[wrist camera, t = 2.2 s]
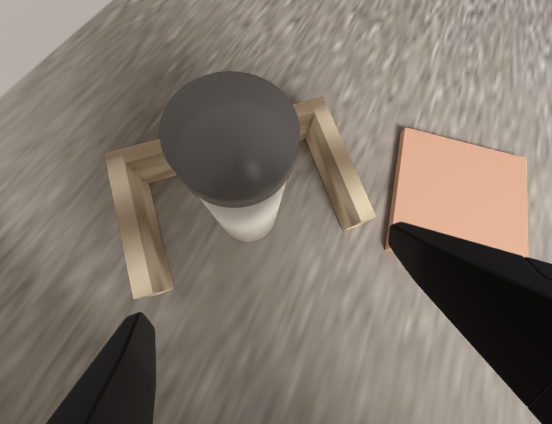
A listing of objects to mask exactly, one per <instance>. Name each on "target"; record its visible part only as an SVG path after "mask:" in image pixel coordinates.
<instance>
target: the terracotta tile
mask: <svg viewBox="0 0 552 424" xmlns="http://www.w3.org/2000/svg"><path fill="white" fill-rule="evenodd" d="M397 222H405V223H409V224H412V225H416V226H419V227H423V228H426V229H430V230H433V231H437V232H440V233H444V234H448V235H451V236H455V237H458V238H462V239H465V240H469V241H472V242H476V243H479V244H483V245H486V246H490V247H493V248H497V249H501V250H504V251H508V252H511V253H515V254H518V255H522V256H523V257H528V205H527V158H524V157H520V156H516V155H512V154H508V153H504V152H500V151H496V150H492V149H488V148H484V147H481V146H477V145H473V144H469V143H465V142H461V141H457V140H453V139H449V138H445V137H441V136H437V135H434V134H430V133H426V132H422V131H418V130H414V129H410V128H406V127H405V128H404V129H403V130H402V131H401V133H400V141H399V148H398V156H397V164H396V171H395V179H394V186H393V194H392V201H391V209H390V217H389V224H388V232H387V239H386V247H385V250H387V251H391V252H393V251H392V250H391V248H390V246H389V244H388V237H389V227H390V225H391V224H394V223H397Z"/></svg>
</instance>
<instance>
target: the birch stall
mask: <svg viewBox="0 0 552 424" xmlns="http://www.w3.org/2000/svg"><path fill="white" fill-rule="evenodd" d="M292 105H293V106H294V109H295V111H296V113H297V116H298V119H299V124H300V140H304V139H306V141H307V144H308V146H309V149H310V151H311V153H312V156H313V158H314V161H315V163H316V166H317V168H318V171H319V173H320V176H321V178H322V180H323V183H324V185H325V188H326V190H327V193H328V195H329V198H330V200H331V203H332V205H333V207H334V210H335V212H336V215H337V217H338V220H339V222H340V225H341V227H342V230H343V231H345V230H348V229H351V228H354V227H357V226H359V225H361V224H363V223H365V222H367V221H369V220H371V219H373V218H375V217H376V215H375V213H374V211H373V208H372V206H371V204H370V202H369V199H368V197H367V195H366V193H365V190H364V188H363V186H362V184H361V181H360V179H359V177H358V175H357V172H356V170H355V168H354V166H353V163H352V161H351V159H350V157H349V154H348V152H347V150H346V148H345V145H344V143H343V141H342V139H341V136H340V134H339V132H338V130H337V127H336V125H335V123H334V121H333V118H332V116H331V114H330V112H329V109H328V107H327V105H326V103H325V100H324V98H323V97H319V98H315V99H311V100H308V101H304V102H300V103H296V104H292ZM104 155H105V160H106V165H107V170H108V175H109V180H110V185H111V190H112V195H113V200H114V205H115V210H116V215H117V220H118V225H119V230H120V235H121V240H122V245H123V250H124V255H125V260H126V265H127V270H128V275H129V280H130V285H131V290H132V295H133V299H138V298H143V297H148V296H153V295H158V294H162V293H164V292H167V291H170V290H173V289H174V287H173V283H172V278H171V274H170V270H169V266H168V262H167V257H166V253H165V249H164V245H163V241H162V236H161V232H160V228H159V224H158V220H157V215H156V211H155V207H154V203H153V199H152V194H151V190H150V186H149V183H151V182H154V181H158V180H161V179H165V178H168V177H172V176H176V175H177V174H176V173H175V172H174V171H173V170H172V168H171V167H170V165H169V164H168V163H167V161H166V159H165V157H164V154H163V151H162V148H161V144H160V139H156V140H152V141H148V142H145V143H141V144H137V145H133V146H129V147H125V148H121V149H117V150H113V151H110V152H106V153H104Z"/></svg>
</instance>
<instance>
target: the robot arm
mask: <svg viewBox="0 0 552 424" xmlns="http://www.w3.org/2000/svg"><path fill="white" fill-rule="evenodd" d="M388 244H389V246H390V248H391V250H392V251H393V252H394V254H395V255H396V256H397V258H398V259H399V261H400V262H401V263H402V265H403V266H404V267H405V269H406V270H407V272H408V273H409V274H410V276H411V277H412V278H413V280H414V281H415V282H416V283H417V284H418V285H419V287H420V288H421V289H422V290H423V291H424V292H425V293H426V294H427V296H428V297H429V298H430V299H431V300H432V301H433V302H434V303H435V305H436V306H437V307H438V308H439V309H440V310H441V311H442V312H443V313H444V315H445V316H446V317H447V318H448V319H449V320H450V321H451V322H452V324H453V325H454V326H455V327H456V328H457V329H458V330H459V331H460V333H461V334H462V335H463V336H464V337H465V338H466V339H467V340H468V341H469V343H470V344H471V345H472V346H473V347H474V348H475V349H476V350H477V352H478V353H479V354H480V355H481V356H482V357H483V358H484V359H485V360H486V362H487V363H488V364H489V365H490V366H491V367H492V368H493V369H494V371H495V372H496V373H497V374H498V375H499V376H500V377H501V378H502V380H503V381H504V382H505V383H506V384H507V385H508V386H509V387H510V388H511V390H512V391H513V392H514V393H515V394H516V395H517V396H518V397H519V399H520V400H521V401H522V402H523V403H524V404H525V405H526V406H528V409H529V410H530V411H531V412H532V413H533V415H534V416H535V417H536V418H537V419H538V420H539V421H540V422H541V423H542V424H552V264H550V263H547V262H543V261H539V260H536V259H532V258H529V257H523V256H522V255H518V254H515V253H511V252H508V251H504V250H501V249H497V248H493V247H490V246H486V245H483V244H479V243H476V242H472V241H469V240H465V239H462V238H458V237H455V236H451V235H448V234H444V233H440V232H437V231H433V230H430V229H426V228H423V227H419V226H416V225H412V224H409V223H405V222H397V223H394V224H391V225H390V227H389V237H388ZM155 390H156V348H155V329H154V327H153V325H152V324H151V323H150V321H149V320H148V319H147V317H146V316H145V315H144V314H143V313H141V312H138V313H135V314H133V315H130V316H128V317H126V319H125V320H124V321H123V322H122V324H121V325H120V326H119V328H118V329H117V330H116V332H115V333H114V334H113V336H112V337H111V338H110V340H109V341H108V342H107V344H106V345H105V346H104V347H103V349H102V350H101V351H100V353H99V354H98V355H97V357H96V358H95V359H94V361H93V362H92V363H91V365H90V366H89V367H88V369H87V370H86V371H85V373H84V374H83V375H82V377H81V378H80V379H79V381H78V382H77V383H76V384H75V386H74V387H73V388H72V390H71V391H70V392H69V394H68V395H67V396H66V398H65V399H64V400H63V402H62V403H61V404H60V406H59V407H58V408H57V410H56V411H55V412H54V414H53V415H52V416H51V417H50V419H49V420H48V421H47V423H46V424H153V413H154V402H155Z"/></svg>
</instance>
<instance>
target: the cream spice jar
mask: <svg viewBox="0 0 552 424" xmlns="http://www.w3.org/2000/svg"><path fill="white" fill-rule="evenodd" d="M299 142H300V124H299V119H298V116H297V113H296V111H295V109H294V106H293V105H292V103H291V102H290V100H289V99H288V98H287V96H286V95H285V94H284V93H283V92H282V91H281V90H280V89H279V88H278V87H276V86H275V85H273V84H272V83H270V82H269V81H267V80H265V79H263V78H260V77H258V76H255V75H252V74H248V73H243V72H232V71H229V72H218V73H213V74H209V75H205V76H203V77H200V78H198V79H196V80H194V81H192V82H190V83H189V84H187V85H186V86H184V87H183V88H182V89H181V90H180V91H178V92H177V93H176V94H175V96H174V97H173V98H172V99H171V101H170V102H169V104H168V105H167V107H166V109H165V111H164V113H163V116H162V119H161V124H160V144H161V148H162V151H163V154H164V157H165V159H166V161H167V163H168V164H169V165H170V167H171V168H172V170H173V171H174V172H175V173H176V174H177V176H178V177H179V178H180V179H181V180H182V182H183V183H184V184H185V185H186V186H187V187H188V189H189V190H190V191H191V192H192V193H194V194H195V195H196V196H197V197H199V199H200V200H201V201H202V202H203V204H204V205H205V206H206V207H207V209H208V210H209V211H210V212H211V214H212V215H213V216H214V217H215V219H216V220H217V221H218V222H219V224H220V225H221V226H222V227H223V229H224V230H225V231H226V232H227V233H228V234H229V235H230V236H231V237H232V238H234V239H236V240H238V241H242V242H254V241H257V240H260V239H262V238H263V237H265V236H266V235H267V234H268V233H269V232H270V231H271V229H272V228H273V226H274V223H275V220H276V216H277V213H278V209H279V205H280V202H281V198H282V195H283V191H284V187H285V184H286V180H287V179H288V177H289V175H290V173H291V170H292V167H293V164H294V160H295V157H296V154H297V150H298V147H299Z"/></svg>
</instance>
